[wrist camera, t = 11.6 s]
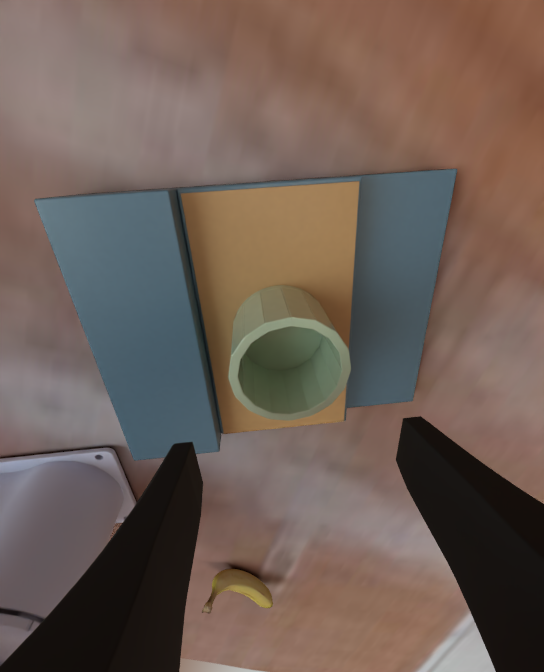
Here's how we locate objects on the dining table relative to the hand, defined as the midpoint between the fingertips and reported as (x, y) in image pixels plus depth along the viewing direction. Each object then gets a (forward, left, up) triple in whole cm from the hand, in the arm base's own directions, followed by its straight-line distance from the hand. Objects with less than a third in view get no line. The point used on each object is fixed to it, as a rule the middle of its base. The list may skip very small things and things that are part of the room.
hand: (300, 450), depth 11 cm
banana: (-5, -27, -10) cm, 29 cm away
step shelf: (0, +1, -9) cm, 9 cm away
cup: (0, +1, -7) cm, 7 cm away
